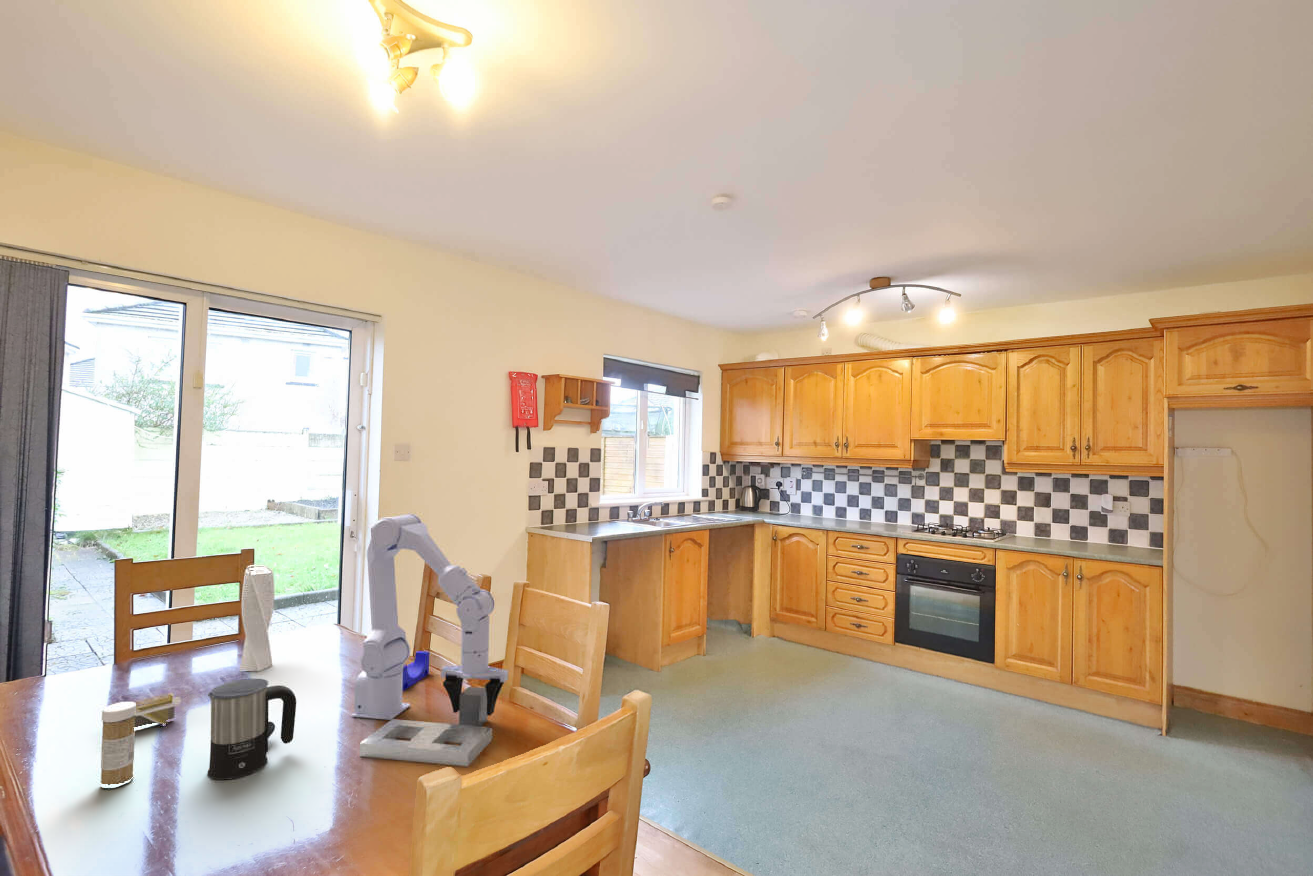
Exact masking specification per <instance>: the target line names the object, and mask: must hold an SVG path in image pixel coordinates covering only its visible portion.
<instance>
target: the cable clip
mask: <svg viewBox="0 0 1313 876" xmlns="http://www.w3.org/2000/svg"><path fill="white" fill-rule="evenodd" d="M428 675H430V651H426V650H418V651H416V652H415V658H414V661H412V662H411V663H408V664H404V668H403V685H402V692H404V691H406V690H407V689H408V688H410V687H411V686H413V685H414V684H416V683H417V682H419V681H421V680H422V679H424V678H425V677H427V676H428Z"/></svg>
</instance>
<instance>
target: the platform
mask: <svg viewBox="0 0 1313 876" xmlns="http://www.w3.org/2000/svg"><path fill="white" fill-rule="evenodd" d="M181 700H182V699H181V697H180V696H176V697H174V695H173V694H172V693H171V692H169V693H165V694H162V695H158V696H153V697H148V698H144V699H140V700H137V701H136V702H135V703H136V714H135V715H136V716H135V722H134V724H135V727H138V726H142V725H146V724H152V723H158V724H163V723H164V724H165V723H167V721H166V720H168V719H172V718H174V719H175V707H177V706H178V705H179V704H180V703H181ZM167 724H168V723H167Z"/></svg>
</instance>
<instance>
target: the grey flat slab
mask: <svg viewBox="0 0 1313 876" xmlns="http://www.w3.org/2000/svg"><path fill="white" fill-rule="evenodd" d="M397 738H398V739H397ZM400 739H401V740H400ZM402 739H410V740H402ZM492 740H493V727H490V726H489V727H488V726H481V727H479V726H467V725H459V724H455V723H454V724H453V723H442V722H430V721H420V720H408V719H407V720H406V719H398V718H397V719H395V718H393V719H391V720H389V721H388V722H386V723H385V724H384V725H383V726H381V727H379V728H378V729H377V730H376V731H373V733H371V734H370V735H368V736H367V737H366V738H365V739H363V740H362V741H361V742H360V743H359V757H364V758H375V759H385V760H394V761H395V760H397V761H405V762H417V763H427V764H435V763H436V764H437V765H447V766H448V765H449V766H458V767H469V766H470V765H471V764H472V763H473V762H474V760H475V759H476V758H477V757H478V756H479V755H480V754H481V753H482V752H483V751H484V750H485V748H486V747H487V746H488V745H489V744H490V743H491V742H492ZM447 743H454V744H447ZM455 744H456V745H455ZM457 744H460V745H457Z"/></svg>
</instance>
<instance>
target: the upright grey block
mask: <svg viewBox="0 0 1313 876" xmlns="http://www.w3.org/2000/svg"><path fill="white" fill-rule="evenodd" d="M458 712H459V717H458V723H459V724H458V725H467V726H479V727H483V725H484V724H485V723H486V722H487V721H488V715H487V694H486V688H485V687H479V686H477V687H475V686H468V687H467V688H466V689H465V690H462V691H461V694H460V708H459V711H458Z"/></svg>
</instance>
